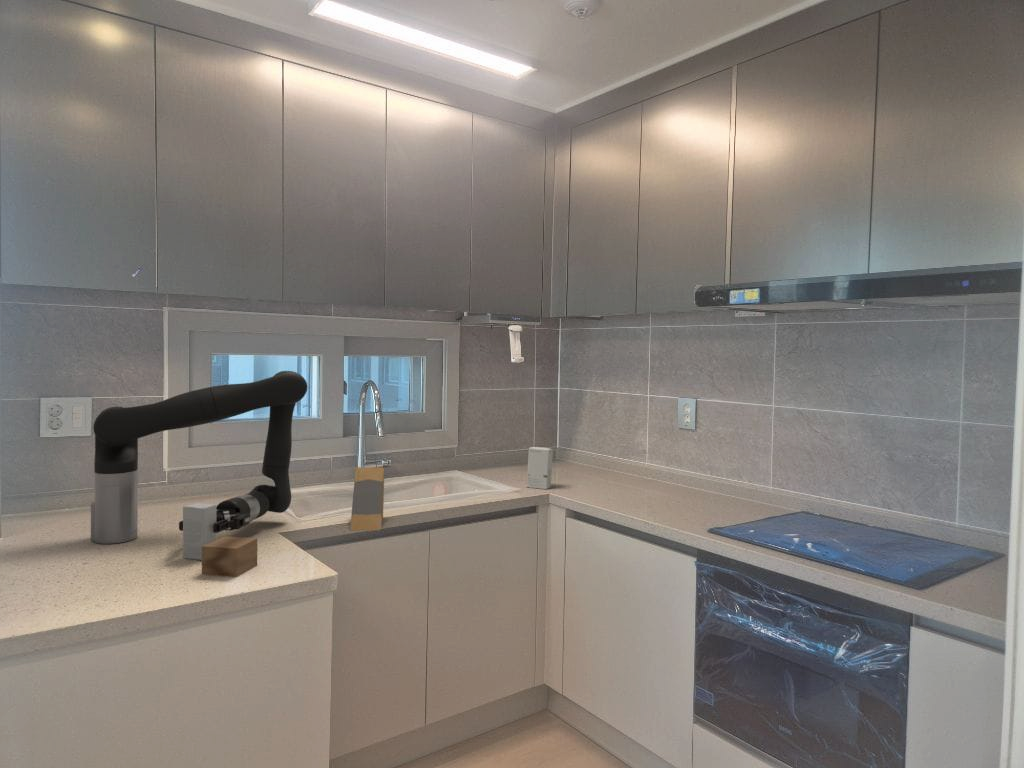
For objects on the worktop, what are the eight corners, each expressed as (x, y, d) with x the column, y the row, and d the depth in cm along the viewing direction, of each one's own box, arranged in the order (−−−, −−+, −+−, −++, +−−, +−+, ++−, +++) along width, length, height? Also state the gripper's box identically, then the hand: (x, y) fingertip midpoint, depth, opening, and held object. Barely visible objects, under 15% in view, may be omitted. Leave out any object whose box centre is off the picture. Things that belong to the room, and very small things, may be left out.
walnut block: (201, 574, 136) (201, 546, 135) (224, 562, 144) (224, 536, 143) (236, 576, 134) (236, 548, 134) (257, 565, 142) (257, 538, 142)
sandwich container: (348, 531, 173) (349, 476, 172) (354, 518, 188) (354, 467, 187) (381, 531, 174) (381, 476, 174) (384, 517, 189) (384, 467, 189)
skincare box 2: (526, 487, 238) (526, 448, 238) (531, 485, 244) (532, 446, 243) (547, 489, 235) (548, 449, 235) (552, 486, 241) (553, 447, 241)
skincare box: (217, 555, 149) (217, 504, 149) (203, 560, 145) (204, 508, 144) (195, 553, 151) (195, 502, 150) (181, 558, 146) (181, 506, 146)
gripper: (212, 495, 164) (169, 509, 148) (264, 498, 162) (226, 512, 146) (211, 524, 164) (169, 542, 148) (263, 527, 162) (226, 545, 146)
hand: (197, 527), depth 147 cm, fingers open, 8 cm apart
